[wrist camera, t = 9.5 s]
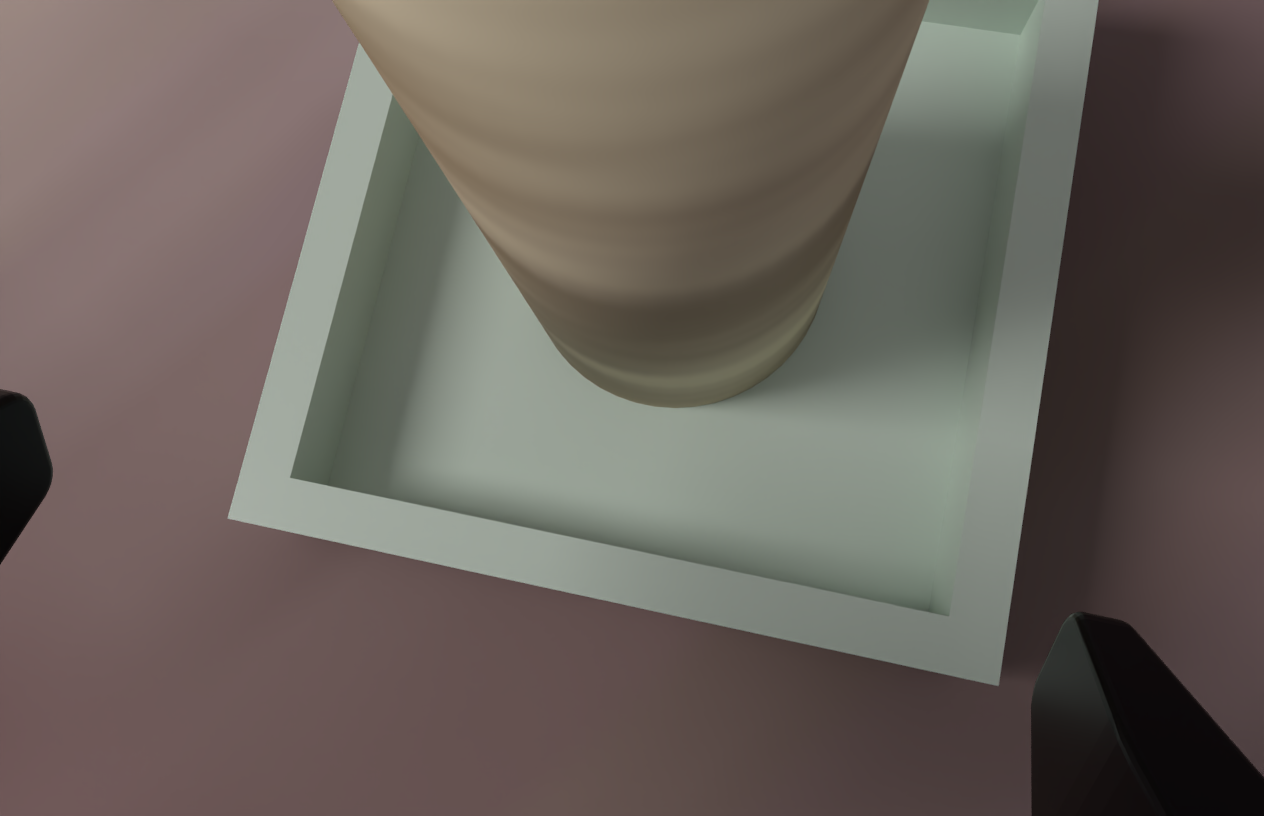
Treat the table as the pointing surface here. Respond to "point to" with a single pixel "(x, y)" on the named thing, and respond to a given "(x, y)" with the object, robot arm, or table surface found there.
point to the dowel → (653, 164)
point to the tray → (719, 432)
